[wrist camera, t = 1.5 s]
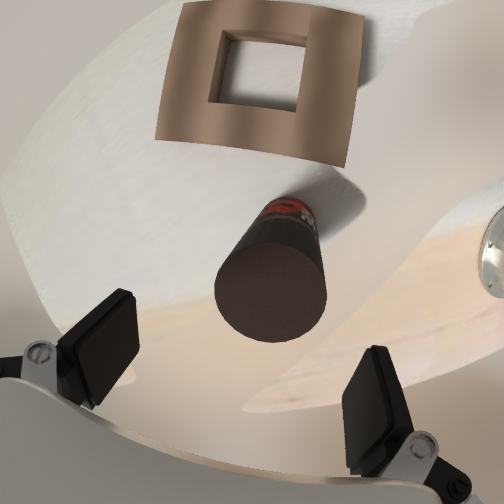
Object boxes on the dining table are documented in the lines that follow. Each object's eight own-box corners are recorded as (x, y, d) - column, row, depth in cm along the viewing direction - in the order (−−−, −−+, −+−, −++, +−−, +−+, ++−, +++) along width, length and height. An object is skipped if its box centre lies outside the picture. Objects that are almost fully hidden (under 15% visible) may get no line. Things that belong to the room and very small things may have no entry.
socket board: (358, 28, 19) (364, 16, 17) (339, 167, 25) (344, 168, 22) (193, 13, 21) (183, 3, 19) (168, 140, 27) (154, 139, 24)
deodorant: (248, 237, 29) (199, 312, 15) (273, 186, 27) (241, 220, 13) (298, 263, 29) (291, 357, 15) (326, 214, 27) (349, 277, 13)
